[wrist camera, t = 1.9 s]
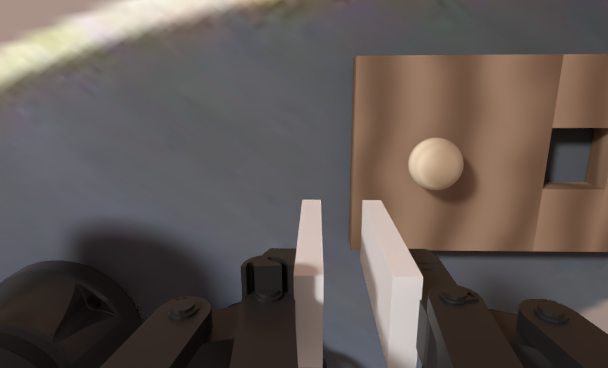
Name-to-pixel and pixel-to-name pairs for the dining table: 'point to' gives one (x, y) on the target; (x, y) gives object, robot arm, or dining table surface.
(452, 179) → the ball
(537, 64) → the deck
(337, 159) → the dining table surface
